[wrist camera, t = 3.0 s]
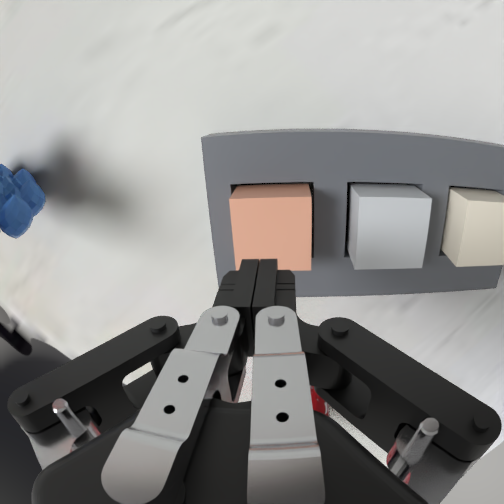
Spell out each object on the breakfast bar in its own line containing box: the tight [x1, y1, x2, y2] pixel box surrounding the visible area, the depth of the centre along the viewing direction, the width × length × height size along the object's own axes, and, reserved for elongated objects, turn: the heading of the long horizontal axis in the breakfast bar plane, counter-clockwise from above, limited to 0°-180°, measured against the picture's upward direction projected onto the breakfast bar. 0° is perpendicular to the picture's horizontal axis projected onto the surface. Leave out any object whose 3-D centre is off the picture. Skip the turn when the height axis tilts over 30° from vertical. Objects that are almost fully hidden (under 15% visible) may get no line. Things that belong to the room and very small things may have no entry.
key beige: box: [440, 187, 504, 267], centre depth 17 cm, size 4×4×3 cm
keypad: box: [201, 129, 504, 297], centre depth 20 cm, size 22×11×2 cm, turn 94°
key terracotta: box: [229, 184, 312, 271], centre depth 19 cm, size 4×4×3 cm
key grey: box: [347, 184, 432, 270], centre depth 18 cm, size 4×4×3 cm
